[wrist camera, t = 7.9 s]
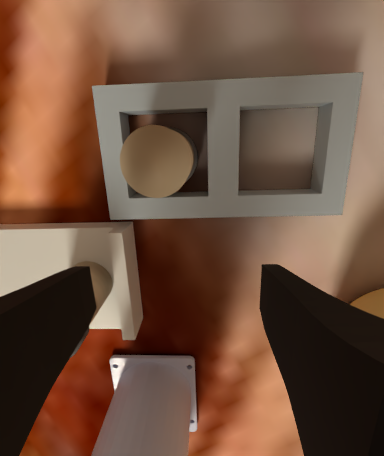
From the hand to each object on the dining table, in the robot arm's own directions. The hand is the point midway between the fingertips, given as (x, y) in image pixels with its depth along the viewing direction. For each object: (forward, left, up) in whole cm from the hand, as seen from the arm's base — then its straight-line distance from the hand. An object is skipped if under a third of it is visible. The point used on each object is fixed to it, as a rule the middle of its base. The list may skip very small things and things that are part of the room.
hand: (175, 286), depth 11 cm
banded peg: (+5, +1, -10) cm, 11 cm away
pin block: (+5, -2, -10) cm, 11 cm away
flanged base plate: (-4, +12, -10) cm, 16 cm away
